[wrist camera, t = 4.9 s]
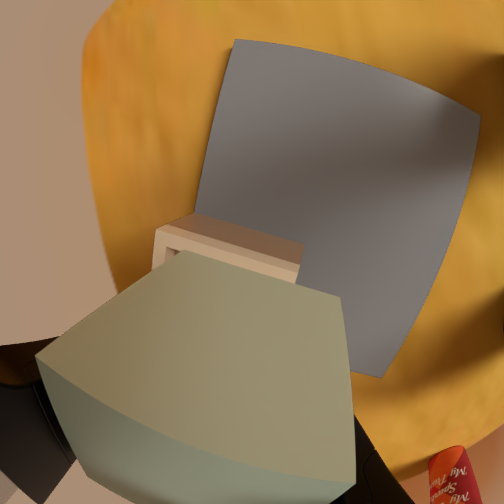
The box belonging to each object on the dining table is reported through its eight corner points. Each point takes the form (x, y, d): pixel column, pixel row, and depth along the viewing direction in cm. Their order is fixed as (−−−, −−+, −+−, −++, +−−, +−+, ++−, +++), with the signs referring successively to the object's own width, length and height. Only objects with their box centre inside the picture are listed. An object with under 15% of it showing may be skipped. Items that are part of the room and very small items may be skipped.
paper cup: (451, 437, 22) (468, 528, 9) (480, 443, 22) (499, 519, 9) (409, 469, 25) (413, 552, 12) (441, 472, 24) (450, 545, 11)
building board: (475, 117, 14) (521, 106, 8) (380, 370, 22) (388, 423, 16) (239, 44, 16) (207, 6, 11) (183, 310, 24) (147, 350, 18)
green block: (340, 297, 8) (355, 482, 3) (290, 405, 10) (260, 544, 4) (183, 249, 9) (34, 355, 3) (169, 364, 10) (87, 476, 5)
